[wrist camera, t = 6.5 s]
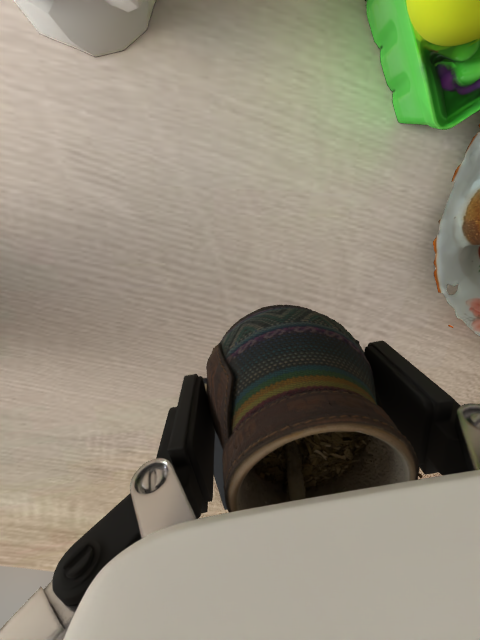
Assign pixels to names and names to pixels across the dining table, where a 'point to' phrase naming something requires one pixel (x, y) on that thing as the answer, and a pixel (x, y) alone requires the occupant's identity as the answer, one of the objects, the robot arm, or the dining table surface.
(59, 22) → the crystal
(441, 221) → the food on plate
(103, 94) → the dining table surface
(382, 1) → the fruit basket
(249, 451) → the mate gourd
